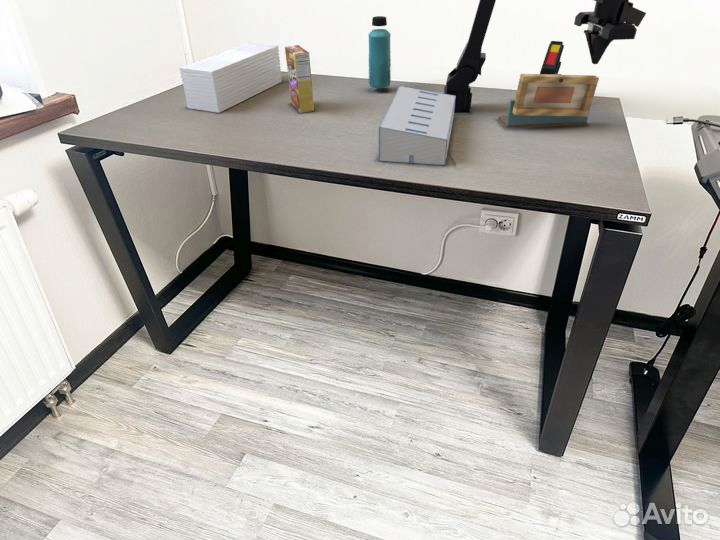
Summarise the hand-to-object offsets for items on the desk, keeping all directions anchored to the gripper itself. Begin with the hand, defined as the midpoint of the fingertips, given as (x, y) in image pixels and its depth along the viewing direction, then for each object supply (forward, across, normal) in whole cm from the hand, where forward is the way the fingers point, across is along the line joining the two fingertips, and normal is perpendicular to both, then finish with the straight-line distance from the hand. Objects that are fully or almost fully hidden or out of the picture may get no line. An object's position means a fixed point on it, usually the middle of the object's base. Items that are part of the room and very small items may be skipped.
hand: (594, 63), depth 126 cm
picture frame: (+9, -8, +12) cm, 18 cm away
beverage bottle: (+13, +30, +49) cm, 59 cm away
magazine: (+13, +13, +5) cm, 19 cm away
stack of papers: (+13, +32, +91) cm, 97 cm away
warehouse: (+13, -9, +44) cm, 47 cm away
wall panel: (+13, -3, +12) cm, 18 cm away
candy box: (+13, +17, +72) cm, 75 cm away
